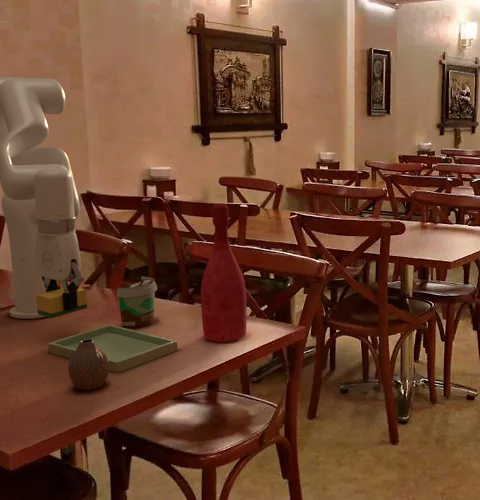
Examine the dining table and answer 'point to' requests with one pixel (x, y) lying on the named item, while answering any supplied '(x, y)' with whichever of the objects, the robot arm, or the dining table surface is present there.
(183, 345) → the dining table surface
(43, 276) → the robot arm
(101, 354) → the vase
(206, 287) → the wine bottle
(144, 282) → the food container
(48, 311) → the sponge
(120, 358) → the tray
